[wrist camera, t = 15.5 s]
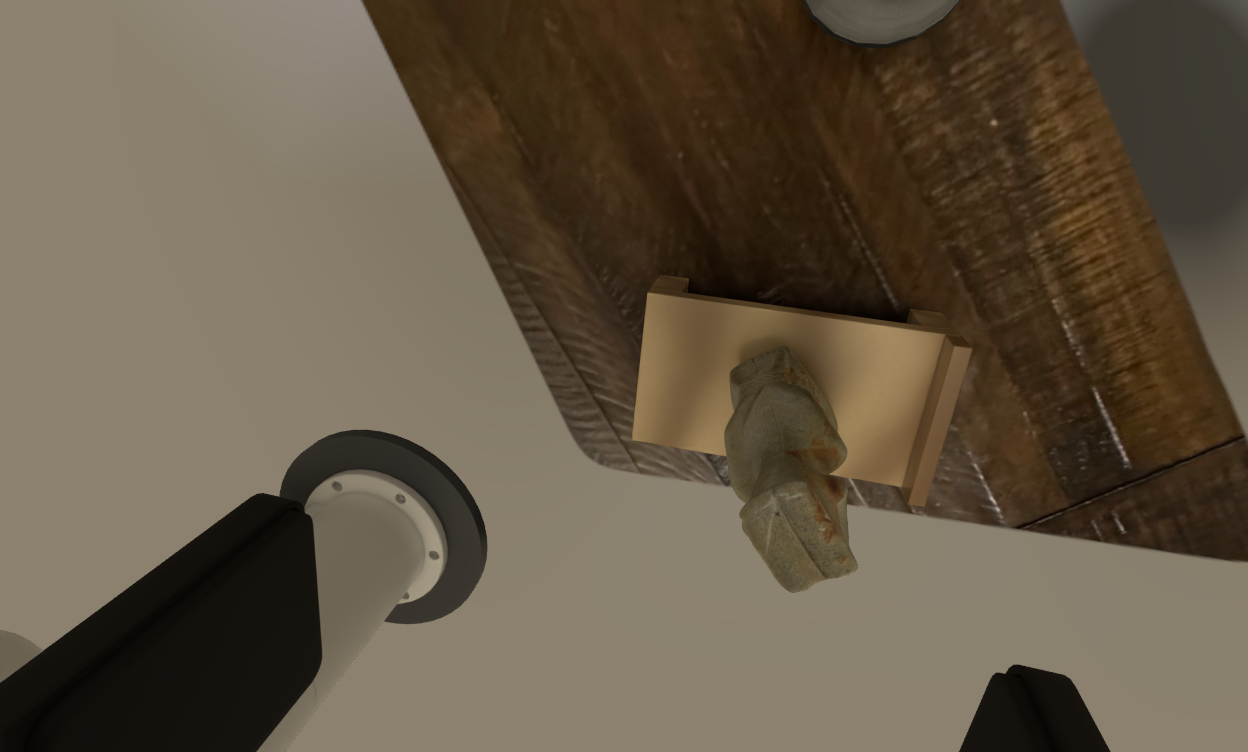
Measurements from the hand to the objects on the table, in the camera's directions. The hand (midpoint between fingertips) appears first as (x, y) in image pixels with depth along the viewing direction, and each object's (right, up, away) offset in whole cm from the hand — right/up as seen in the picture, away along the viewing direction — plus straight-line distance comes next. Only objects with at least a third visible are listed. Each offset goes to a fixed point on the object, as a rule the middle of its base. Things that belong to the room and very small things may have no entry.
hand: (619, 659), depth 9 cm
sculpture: (+10, +3, +32) cm, 33 cm away
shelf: (+11, +5, +36) cm, 38 cm away
